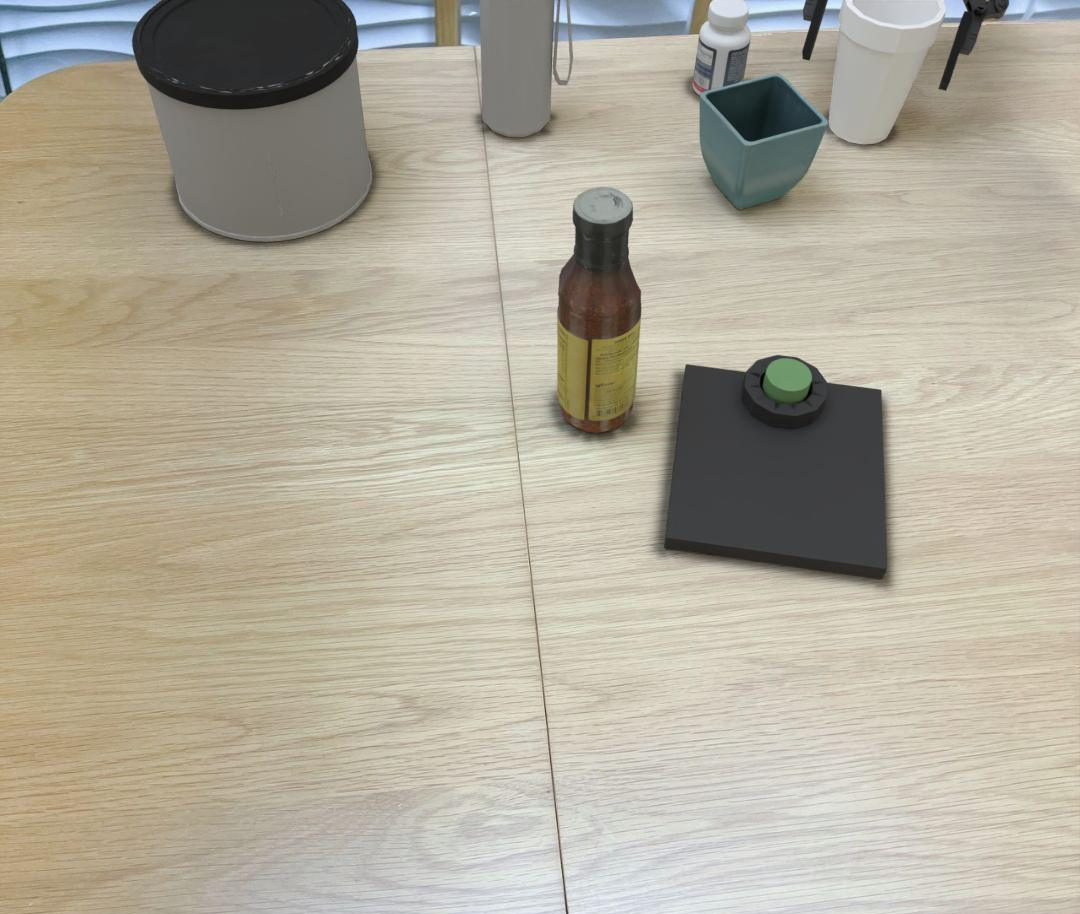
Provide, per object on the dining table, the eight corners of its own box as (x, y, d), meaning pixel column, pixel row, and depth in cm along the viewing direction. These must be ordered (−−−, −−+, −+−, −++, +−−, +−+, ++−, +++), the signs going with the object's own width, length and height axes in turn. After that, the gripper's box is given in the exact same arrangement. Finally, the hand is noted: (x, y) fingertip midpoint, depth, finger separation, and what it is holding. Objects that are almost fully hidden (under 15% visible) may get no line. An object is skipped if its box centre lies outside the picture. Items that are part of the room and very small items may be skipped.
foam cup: (886, 97, 116) (924, -26, 106) (919, 149, 111) (962, 24, 100) (801, 104, 115) (830, -20, 104) (829, 156, 110) (863, 32, 99)
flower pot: (729, 228, 103) (746, 144, 95) (684, 175, 107) (697, 91, 100) (809, 206, 105) (831, 122, 98) (761, 155, 110) (779, 71, 102)
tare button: (808, 375, 88) (812, 361, 87) (807, 407, 86) (811, 393, 85) (763, 369, 88) (767, 355, 87) (761, 401, 86) (765, 387, 85)
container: (237, 271, 98) (198, 120, 85) (140, 167, 106) (93, 16, 94) (412, 192, 105) (399, 43, 92) (308, 101, 113) (284, -47, 101)
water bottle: (471, 137, 110) (463, -132, 90) (490, 94, 115) (487, -172, 94) (560, 151, 109) (572, -118, 89) (576, 107, 114) (591, -158, 93)
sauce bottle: (641, 390, 90) (669, 186, 74) (621, 445, 87) (646, 243, 70) (565, 372, 91) (576, 167, 75) (542, 425, 88) (549, 222, 72)
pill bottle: (743, 77, 118) (758, -4, 110) (739, 105, 114) (755, 23, 107) (693, 72, 118) (705, -10, 111) (689, 99, 115) (701, 17, 108)
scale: (876, 394, 90) (886, 368, 88) (882, 579, 80) (894, 556, 77) (684, 369, 92) (688, 343, 89) (663, 548, 81) (668, 524, 78)
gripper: (1072, -117, 105) (996, 109, 108) (816, -164, 109) (752, 54, 113) (1092, -156, 97) (1010, 88, 101) (817, -204, 102) (748, 31, 106)
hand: (873, 71), depth 107 cm, fingers open, 13 cm apart
